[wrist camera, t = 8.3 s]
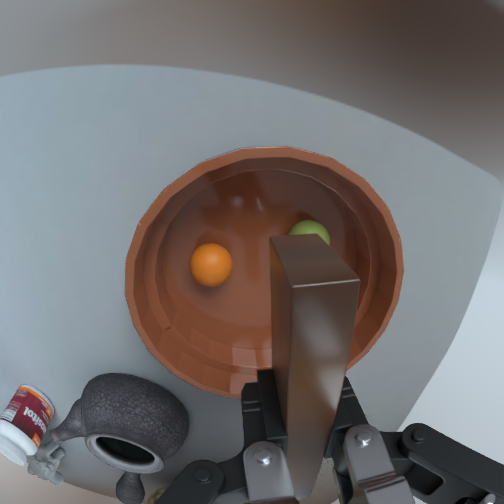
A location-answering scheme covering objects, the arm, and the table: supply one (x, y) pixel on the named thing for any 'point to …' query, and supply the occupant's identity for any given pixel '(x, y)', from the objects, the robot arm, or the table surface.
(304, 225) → the ball olive
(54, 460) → the gray elephant figurine
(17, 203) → the table surface
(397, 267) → the bowl
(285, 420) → the stick
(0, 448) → the pill bottle
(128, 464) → the teapot
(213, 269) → the ball orange
